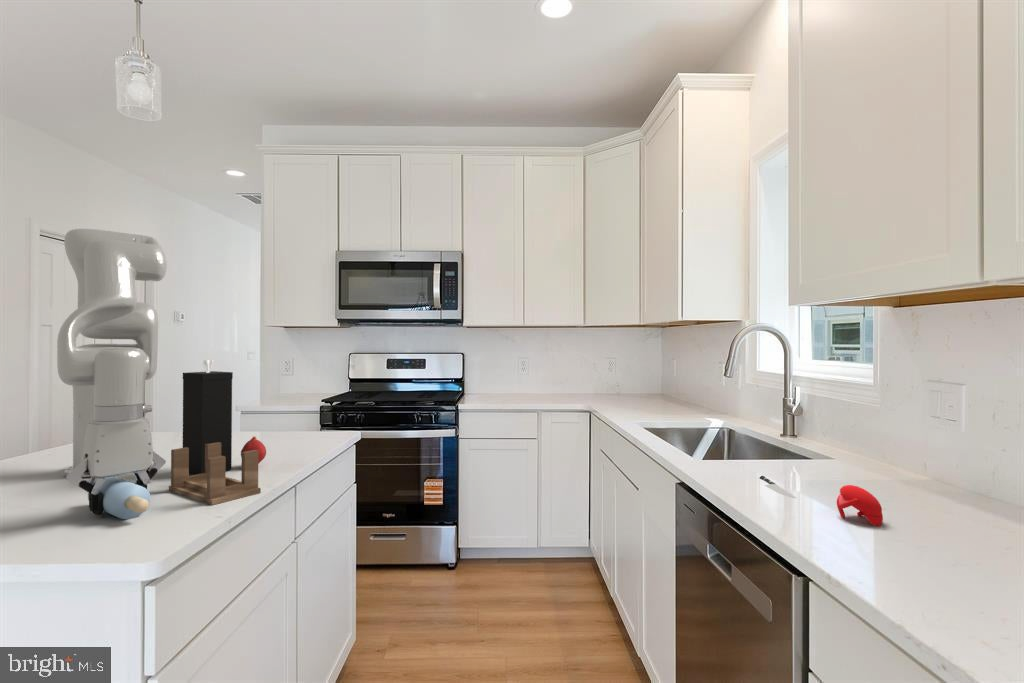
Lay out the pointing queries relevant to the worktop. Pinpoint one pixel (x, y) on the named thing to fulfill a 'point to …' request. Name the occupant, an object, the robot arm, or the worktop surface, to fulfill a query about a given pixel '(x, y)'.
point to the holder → (213, 476)
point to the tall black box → (207, 414)
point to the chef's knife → (776, 487)
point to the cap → (860, 503)
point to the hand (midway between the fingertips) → (118, 508)
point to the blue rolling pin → (124, 498)
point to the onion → (255, 448)
